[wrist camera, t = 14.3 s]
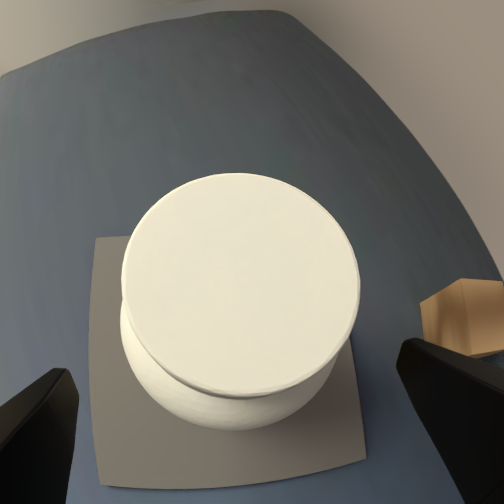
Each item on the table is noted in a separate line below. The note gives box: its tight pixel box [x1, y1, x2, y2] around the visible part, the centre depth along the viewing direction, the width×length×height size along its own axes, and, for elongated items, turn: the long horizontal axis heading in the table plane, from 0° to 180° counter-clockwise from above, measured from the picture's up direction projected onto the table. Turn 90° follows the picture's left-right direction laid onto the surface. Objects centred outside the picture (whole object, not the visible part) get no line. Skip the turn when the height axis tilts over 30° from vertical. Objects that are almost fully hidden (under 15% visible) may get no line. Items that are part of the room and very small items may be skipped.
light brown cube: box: [420, 278, 504, 359], centre depth 18 cm, size 5×5×5 cm
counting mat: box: [89, 236, 367, 489], centre depth 17 cm, size 16×16×1 cm
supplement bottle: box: [120, 173, 360, 431], centre depth 11 cm, size 7×7×13 cm
